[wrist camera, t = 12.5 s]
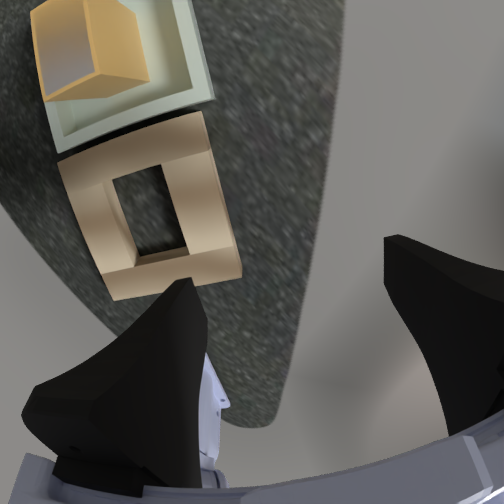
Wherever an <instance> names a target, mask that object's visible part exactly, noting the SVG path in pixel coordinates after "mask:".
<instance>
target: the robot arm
mask: <svg viewBox="0 0 504 504" xmlns="http://www.w3.org/2000/svg"><path fill="white" fill-rule="evenodd" d="M384 285H385V287H386V289H387V292H388V294H389V296H390V299H391V301H392V303H393V305H394V306H395V308H396V310H397V311H398V313H399V315H400V316H401V318H402V319H403V321H404V323H405V324H406V326H407V327H408V329H409V330H410V332H411V334H412V335H413V337H414V339H415V341H416V342H417V344H418V346H419V348H420V349H421V352H422V353H423V355H424V358H425V360H426V363H427V365H428V367H429V370H430V372H431V375H432V378H433V381H434V383H435V386H436V389H437V392H438V395H439V398H440V402H441V405H442V409H443V412H444V416H445V419H446V424H447V429H448V434H449V437H447V438H444V439H441V440H437V441H434V442H432V443H429V444H427V445H424V446H421V447H419V448H416V449H414V450H411V451H408V452H405V453H402V454H399V455H396V456H393V457H390V458H387V459H384V460H380V461H377V462H374V463H370V464H367V465H363V466H360V467H355V468H351V469H348V470H343V471H339V472H334V473H330V474H324V475H320V476H314V477H308V478H302V479H296V480H291V481H286V482H281V483H276V484H272V485H264V486H255V487H254V486H253V487H239V488H230V487H229V484H228V481H227V480H226V478H225V476H224V474H223V473H222V472H221V471H220V470H216V469H214V465H215V461H216V459H217V457H218V454H219V439H220V418H221V408H228V407H230V402H229V400H228V398H227V395H226V393H225V391H224V389H223V387H222V385H221V383H220V381H219V379H218V377H217V375H216V373H215V370H214V368H213V366H212V364H211V362H210V360H209V357H208V355H207V353H206V347H207V332H208V327H207V322H208V319H207V317H206V314H205V312H204V309H203V306H202V304H201V301H200V299H199V296H198V293H197V291H196V288H195V285H194V283H193V280H192V277H188V278H182V279H177V280H175V281H174V282H173V283H172V284H171V285H170V286H169V287H168V288H167V289H166V290H165V291H164V292H163V293H162V294H161V295H160V296H159V297H158V298H157V300H156V301H155V302H154V303H153V304H152V305H151V306H150V307H149V308H148V309H147V310H146V311H145V312H144V313H143V314H142V315H141V316H140V317H139V318H138V319H137V320H136V321H135V322H134V323H133V324H132V325H131V326H130V327H129V328H128V329H127V330H126V331H125V332H123V333H122V334H121V335H120V336H119V337H118V338H116V339H115V340H114V341H113V342H111V343H110V344H109V345H108V346H106V347H105V348H103V349H102V350H101V351H99V352H98V353H96V354H95V355H93V356H92V357H91V358H89V359H88V360H86V361H85V362H83V363H81V364H79V365H78V366H76V367H74V368H73V369H71V370H69V371H67V372H65V373H63V374H61V375H59V376H57V377H55V378H53V379H51V380H48V381H46V382H44V383H42V384H39V385H37V386H35V387H34V389H33V391H32V393H31V395H30V397H29V399H28V401H27V403H26V405H25V407H24V409H23V411H22V414H21V416H22V419H23V422H24V424H25V425H26V427H27V428H28V429H29V430H30V431H31V433H32V434H34V435H35V436H36V437H37V438H38V439H39V440H40V441H41V442H42V443H43V444H45V445H46V446H47V447H48V448H49V449H51V450H52V451H53V452H54V453H55V454H57V455H58V457H57V460H56V463H55V462H53V461H51V460H49V459H47V458H44V457H40V456H37V455H33V454H30V453H26V454H25V456H24V459H23V462H22V464H21V467H20V470H19V473H18V475H17V478H16V481H15V484H14V487H13V490H12V493H11V497H10V500H9V503H8V504H504V271H502V270H497V269H493V268H488V267H485V266H481V265H478V264H475V263H471V262H468V261H465V260H462V259H460V258H457V257H454V256H452V255H449V254H447V253H444V252H442V251H439V250H437V249H434V248H432V247H430V246H428V245H425V244H423V243H420V242H418V241H415V240H413V239H411V238H408V237H405V236H402V235H398V234H397V235H393V236H388V237H384Z"/></svg>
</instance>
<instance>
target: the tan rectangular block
mask: <svg viewBox="0 0 504 504" xmlns="http://www.w3.org/2000/svg"><path fill="white" fill-rule="evenodd" d="M30 13H31V25H32V35H33V43H34V51H35V58H36V64H37V70H38V76H39V82H40V87H41V92H42V97H43V101H44V102H53V101H64V100H77V99H95V98H108V97H111V96H113V95H116V94H118V93H121V92H123V91H126V90H129V89H131V88H134V87H137V86H140V85H142V84H145V83H148V82H150V79H149V74H148V70H147V66H146V61H145V57H144V52H143V48H142V43H141V38H140V34H139V29H138V24H137V19H136V14H135V13H134V12H133V11H131V10H130V9H128V8H127V7H125V6H124V5H123V4H121V3H120V2H118V1H117V0H48V1H46V2H44V3H43V4H41V5H40V6H38V7H37V8H35V9H34V10H32V11H31V12H30Z"/></svg>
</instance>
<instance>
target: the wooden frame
mask: <svg viewBox="0 0 504 504" xmlns="http://www.w3.org/2000/svg"><path fill="white" fill-rule="evenodd" d="M158 164H161V165H162V169H163V172H164V175H165V179H166V182H167V185H168V189H169V192H170V195H171V198H172V201H173V205H174V208H175V211H176V214H177V217H178V220H179V223H180V226H181V229H182V232H183V235H184V238H185V241H186V244H187V246H186V247H181V248H177V249H172V250H168V251H163V252H159V253H154V254H150V255H146V256H141V257H140V255H139V253H138V250H137V248H136V245H135V243H134V240H133V238H132V235H131V232H130V230H129V227H128V225H127V222H126V219H125V216H124V214H123V211H122V208H121V205H120V203H119V200H118V197H117V194H116V191H115V188H114V185H113V182H112V179H114V178H117V177H120V176H123V175H126V174H129V173H133V172H136V171H139V170H142V169H145V168H148V167H152V166H155V165H158ZM57 165H58V168H59V171H60V174H61V177H62V180H63V183H64V186H65V189H66V192H67V194H68V197H69V200H70V203H71V205H72V208H73V211H74V213H75V216H76V218H77V221H78V223H79V226H80V228H81V231H82V233H83V236H84V238H85V240H86V243H87V245H88V247H89V250H90V252H91V254H92V256H93V259H94V261H95V263H96V265H97V267H98V269H99V272H100V274H101V276H102V278H103V280H104V282H105V284H106V286H107V288H108V290H109V292H110V294H111V296H112V298H113V300H114V301H116V300H122V299H127V298H133V297H139V296H144V295H150V294H156V293H161V292H164V291H165V290H166V289H167V288H168V287H169V286H170V285H171V284H172V283H173V282H174V281H175V280H177V279H182V278H188V277H192V280H193V283H194V285H195V286H199V285H205V284H210V283H215V282H220V281H226V280H231V279H236V278H241V277H242V264H241V260H240V257H239V253H238V249H237V245H236V242H235V238H234V234H233V230H232V227H231V223H230V219H229V215H228V212H227V208H226V204H225V200H224V196H223V193H222V189H221V185H220V181H219V177H218V173H217V169H216V166H215V162H214V158H213V154H212V150H211V146H210V142H209V138H208V134H207V131H206V127H205V123H204V119H203V115H202V111H198V112H194V113H191V114H187V115H183V116H180V117H177V118H173V119H170V120H167V121H163V122H160V123H157V124H154V125H151V126H148V127H145V128H142V129H139V130H136V131H133V132H131V133H128V134H125V135H122V136H120V137H117V138H114V139H112V140H109V141H107V142H104V143H101V144H99V145H97V146H94V147H92V148H89V149H87V150H84V151H82V152H80V153H77V154H75V155H73V156H71V157H68V158H66V159H64V160H62V161H60V162H58V163H57Z"/></svg>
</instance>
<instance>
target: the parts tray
mask: <svg viewBox="0 0 504 504" xmlns="http://www.w3.org/2000/svg"><path fill="white" fill-rule="evenodd" d="M117 1H118V2H120V3H121V4H123V5H124V6H125V7H127V8H128V9H130V10H131V11H133V12H134V13H135V14H136V19H137V24H138V29H139V34H140V38H141V43H142V48H143V52H144V57H145V61H146V66H147V70H148V74H149V79H150V82H148V83H145V84H142V85H140V86H137V87H134V88H131V89H129V90H126V91H123V92H121V93H118V94H116V95H113V96H111V97H108V98H95V99H77V100H64V101H53V102H44V104H45V108H46V112H47V116H48V120H49V124H50V128H51V132H52V135H53V139H54V142H55V146H56V149H57V153H61V152H64V151H66V150H69V149H72V148H75V147H77V146H79V145H82V144H84V143H86V142H89V141H91V140H93V139H96V138H98V137H101V136H103V135H106V134H108V133H111V132H113V131H116V130H119V129H121V128H124V127H127V126H129V125H132V124H135V123H138V122H141V121H143V120H146V119H149V118H152V117H155V116H158V115H162V114H165V113H168V112H171V111H174V110H178V109H181V108H185V107H188V106H192V105H195V104H199V103H203V102H207V101H210V100H214V99H215V95H214V90H213V86H212V82H211V78H210V74H209V70H208V66H207V62H206V58H205V54H204V50H203V46H202V42H201V38H200V34H199V30H198V25H197V21H196V17H195V13H194V9H193V5H192V1H191V0H117ZM31 27H32V25H31ZM32 36H33V35H32ZM33 44H34V43H33Z"/></svg>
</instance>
